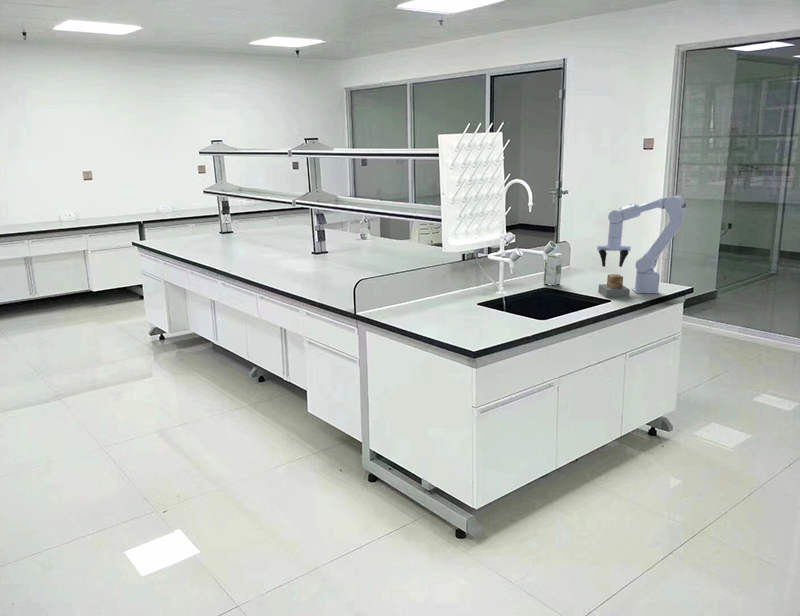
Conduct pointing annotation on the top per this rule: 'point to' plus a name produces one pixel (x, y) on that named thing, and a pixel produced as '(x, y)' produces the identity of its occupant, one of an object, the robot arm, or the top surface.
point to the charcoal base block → (613, 291)
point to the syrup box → (553, 269)
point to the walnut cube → (614, 281)
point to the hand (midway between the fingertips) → (612, 266)
